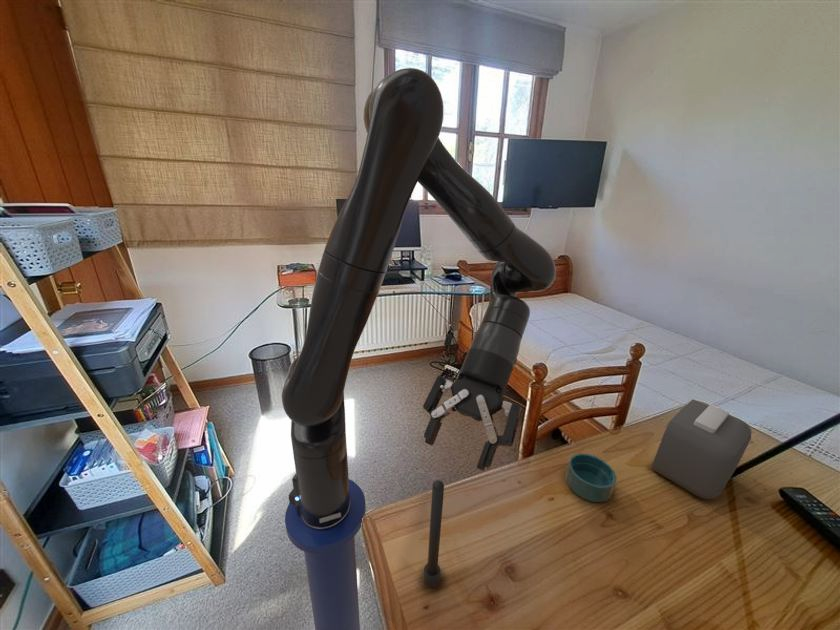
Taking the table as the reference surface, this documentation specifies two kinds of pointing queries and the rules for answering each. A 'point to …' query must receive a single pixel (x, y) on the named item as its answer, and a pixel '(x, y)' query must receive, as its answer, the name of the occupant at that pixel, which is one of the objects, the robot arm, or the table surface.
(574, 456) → the bowl
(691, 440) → the alarm clock
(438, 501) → the long dark rod
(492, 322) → the robot arm
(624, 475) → the table surface
